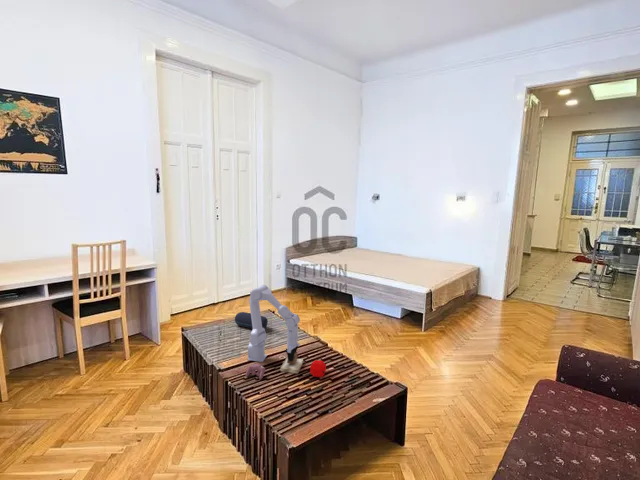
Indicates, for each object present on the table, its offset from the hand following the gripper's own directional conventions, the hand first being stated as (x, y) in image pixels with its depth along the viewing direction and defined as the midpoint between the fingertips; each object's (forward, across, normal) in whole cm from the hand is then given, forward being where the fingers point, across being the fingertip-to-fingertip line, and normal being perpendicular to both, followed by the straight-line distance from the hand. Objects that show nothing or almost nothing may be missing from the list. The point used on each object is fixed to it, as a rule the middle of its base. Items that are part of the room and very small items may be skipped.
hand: (292, 358), depth 192 cm
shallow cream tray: (+5, 0, 0) cm, 5 cm away
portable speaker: (+5, +45, +42) cm, 62 cm away
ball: (+5, -5, -16) cm, 18 cm away
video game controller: (+5, -13, +17) cm, 22 cm away
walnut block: (+2, 0, 0) cm, 2 cm away
